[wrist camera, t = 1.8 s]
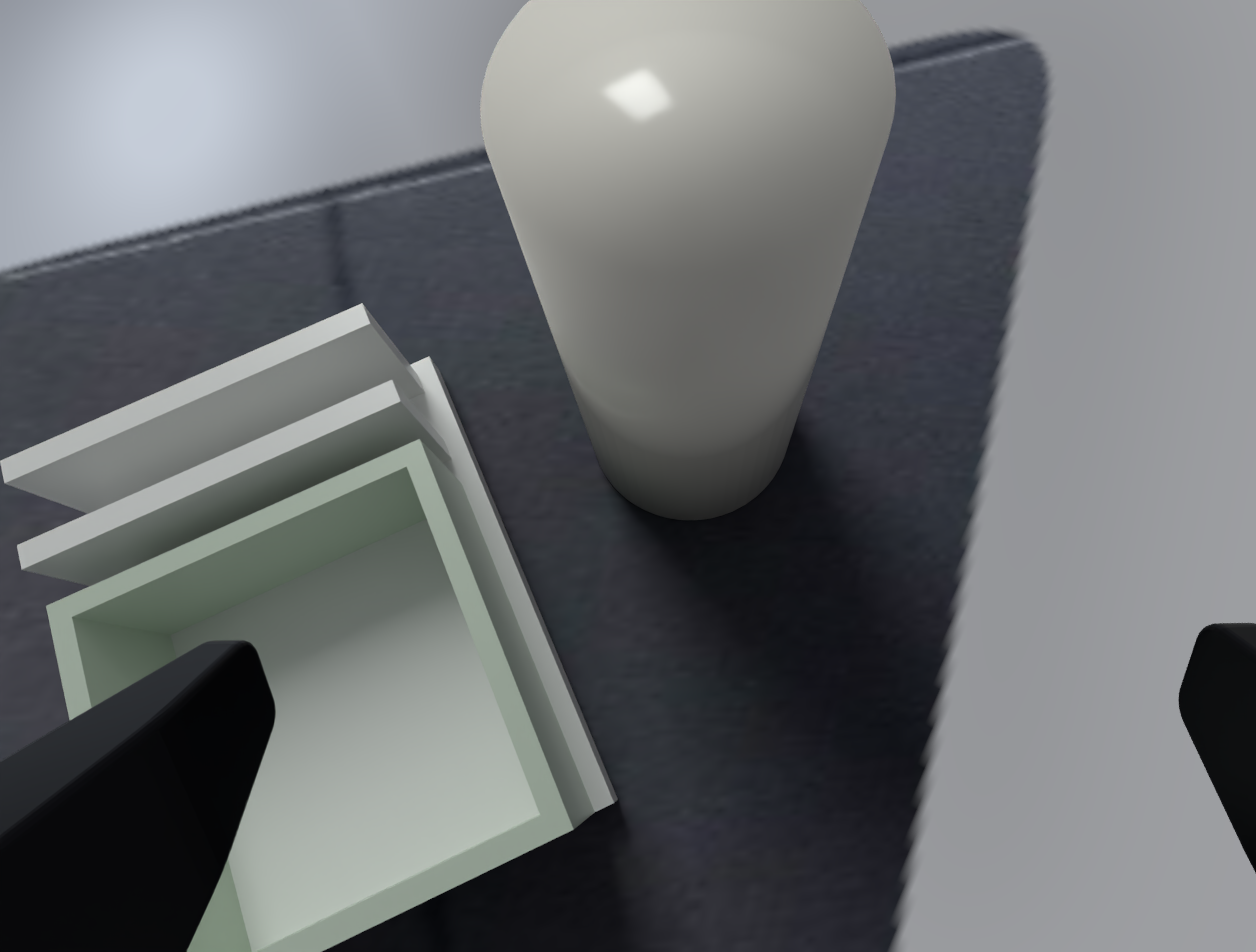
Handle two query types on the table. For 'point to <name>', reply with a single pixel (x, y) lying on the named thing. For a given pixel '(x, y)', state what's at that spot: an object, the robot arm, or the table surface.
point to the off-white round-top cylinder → (688, 218)
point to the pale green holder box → (323, 624)
